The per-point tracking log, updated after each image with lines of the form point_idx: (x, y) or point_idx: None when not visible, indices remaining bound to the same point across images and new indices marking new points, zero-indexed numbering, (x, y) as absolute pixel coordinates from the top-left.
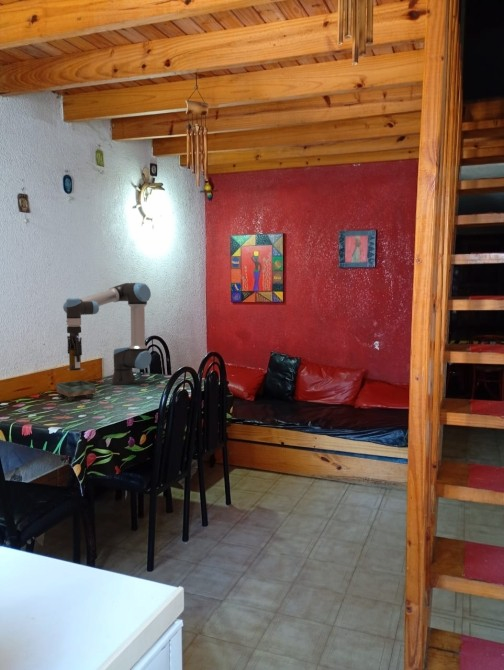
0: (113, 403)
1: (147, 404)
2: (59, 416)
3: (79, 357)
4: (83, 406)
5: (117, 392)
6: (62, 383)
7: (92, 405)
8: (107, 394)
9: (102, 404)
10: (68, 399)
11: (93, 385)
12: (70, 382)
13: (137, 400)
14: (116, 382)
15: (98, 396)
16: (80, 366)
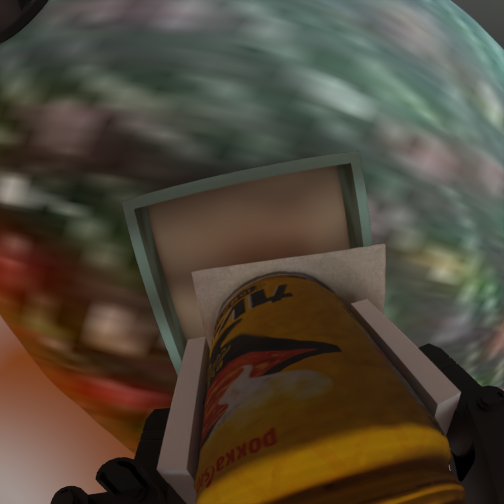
0: (460, 133)
1: (497, 57)
2: (495, 342)
3: (472, 385)
4: (450, 259)
5: (215, 16)
6: (178, 347)
7: (454, 221)
8: (244, 68)
9: (458, 178)
10: None
11: (357, 163)
12: (158, 293)
13: (441, 36)
14: (26, 15)
15: (277, 126)
16: (329, 293)
